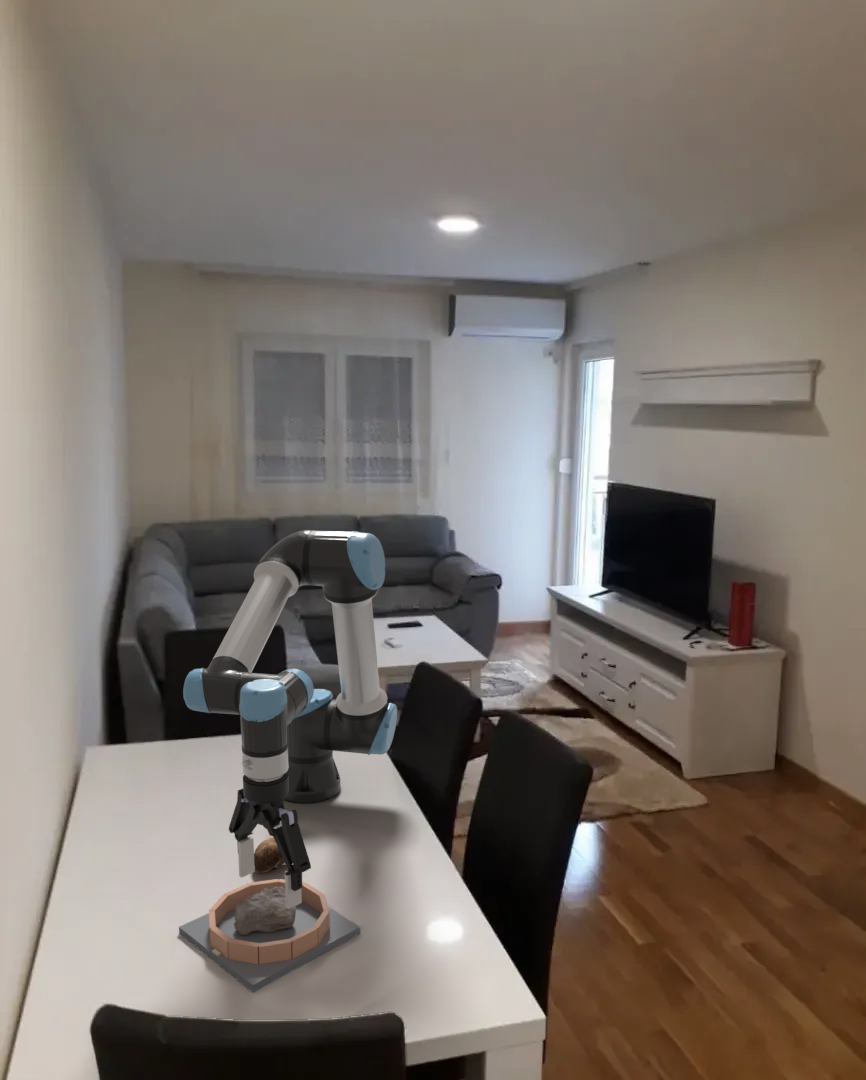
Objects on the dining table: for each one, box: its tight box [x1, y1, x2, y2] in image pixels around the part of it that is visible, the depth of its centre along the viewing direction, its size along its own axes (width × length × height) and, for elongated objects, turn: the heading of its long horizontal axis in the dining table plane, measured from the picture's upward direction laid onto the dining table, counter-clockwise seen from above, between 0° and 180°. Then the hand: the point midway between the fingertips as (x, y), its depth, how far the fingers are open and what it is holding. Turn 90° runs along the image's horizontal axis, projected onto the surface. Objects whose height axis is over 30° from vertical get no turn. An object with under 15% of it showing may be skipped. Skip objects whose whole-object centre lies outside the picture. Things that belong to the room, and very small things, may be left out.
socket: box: [178, 878, 361, 993], centre depth 156 cm, size 22×22×4 cm
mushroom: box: [254, 837, 285, 874], centre depth 178 cm, size 8×8×6 cm
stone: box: [234, 887, 296, 935], centre depth 156 cm, size 10×8×6 cm
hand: (269, 889), depth 156 cm, fingers open, 13 cm apart
